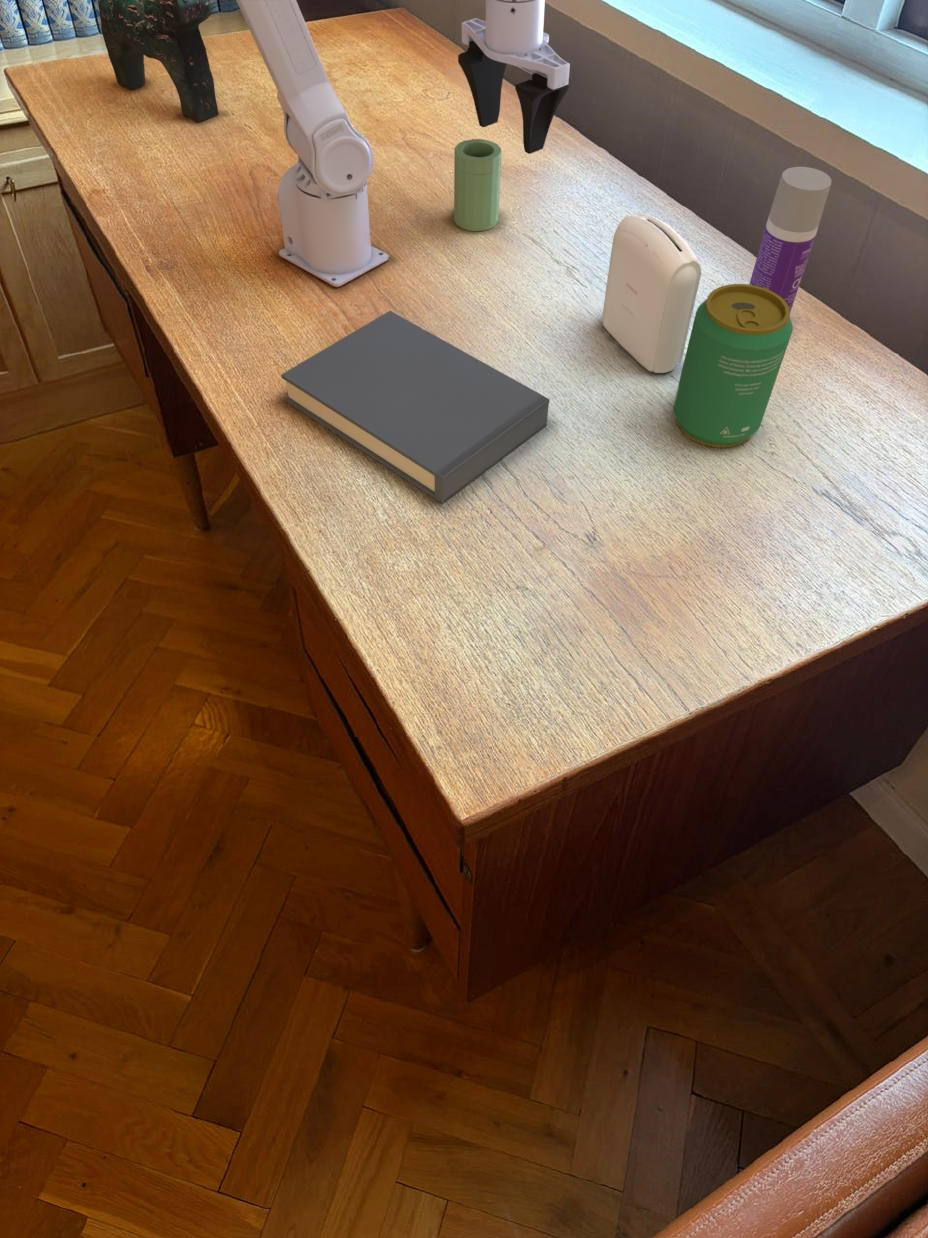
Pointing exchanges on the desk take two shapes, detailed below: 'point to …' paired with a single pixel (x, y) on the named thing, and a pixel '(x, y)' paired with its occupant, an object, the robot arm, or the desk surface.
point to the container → (791, 231)
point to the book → (416, 404)
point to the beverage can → (731, 364)
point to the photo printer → (650, 291)
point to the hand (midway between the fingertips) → (510, 136)
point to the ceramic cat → (161, 47)
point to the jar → (477, 184)
